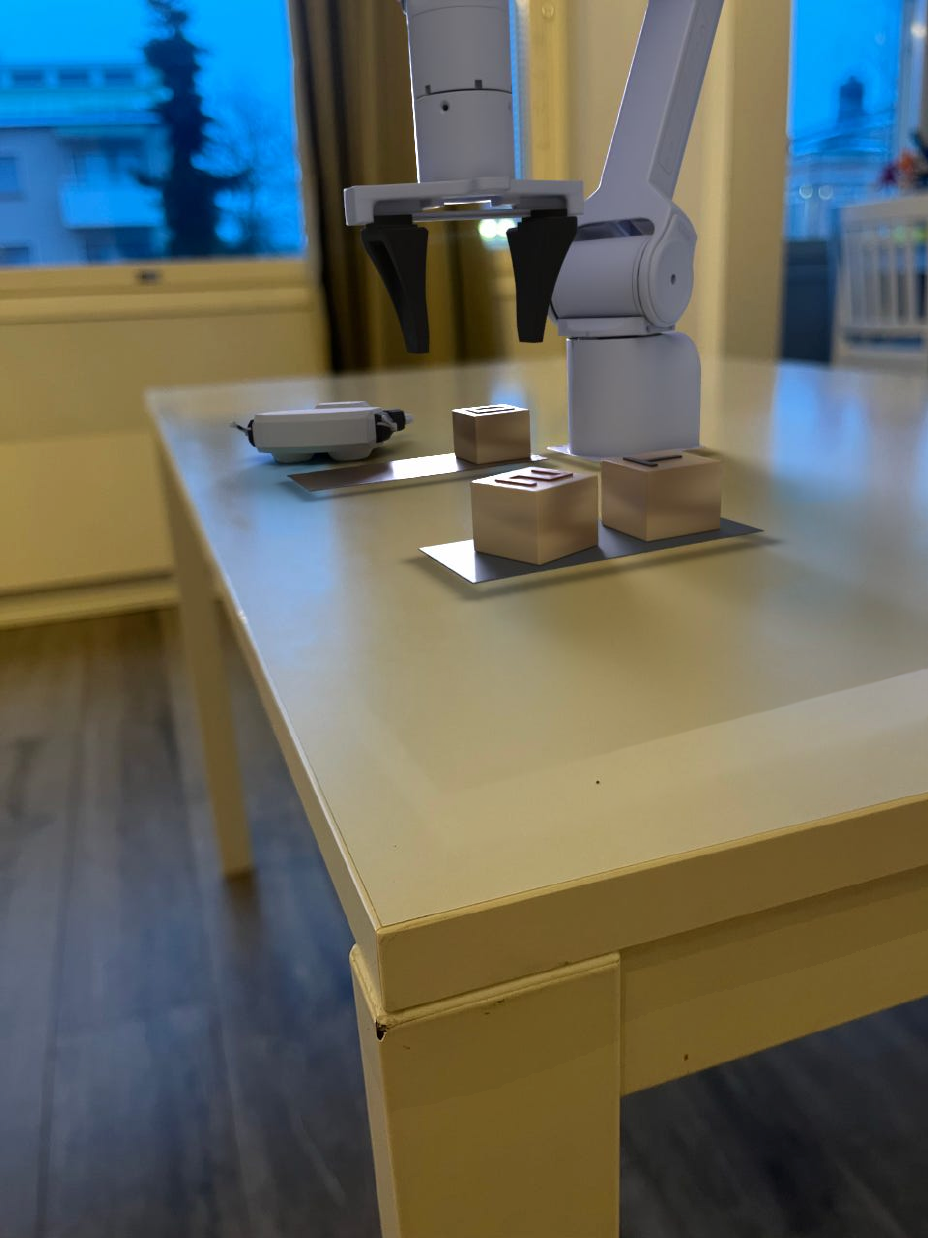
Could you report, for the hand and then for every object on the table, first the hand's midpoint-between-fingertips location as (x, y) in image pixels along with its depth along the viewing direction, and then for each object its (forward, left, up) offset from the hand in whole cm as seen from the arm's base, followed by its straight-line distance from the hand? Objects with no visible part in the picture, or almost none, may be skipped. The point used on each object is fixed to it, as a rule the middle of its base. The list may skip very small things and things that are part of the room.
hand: (475, 347), depth 59 cm
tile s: (+4, +15, -9) cm, 18 cm away
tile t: (-3, +15, -9) cm, 18 cm away
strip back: (+1, -10, -9) cm, 13 cm away
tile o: (-5, -10, -9) cm, 14 cm away
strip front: (+1, +15, -9) cm, 18 cm away
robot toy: (+4, -22, -10) cm, 24 cm away
